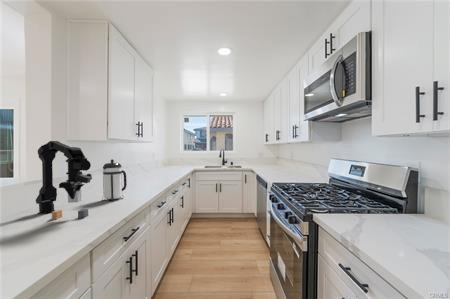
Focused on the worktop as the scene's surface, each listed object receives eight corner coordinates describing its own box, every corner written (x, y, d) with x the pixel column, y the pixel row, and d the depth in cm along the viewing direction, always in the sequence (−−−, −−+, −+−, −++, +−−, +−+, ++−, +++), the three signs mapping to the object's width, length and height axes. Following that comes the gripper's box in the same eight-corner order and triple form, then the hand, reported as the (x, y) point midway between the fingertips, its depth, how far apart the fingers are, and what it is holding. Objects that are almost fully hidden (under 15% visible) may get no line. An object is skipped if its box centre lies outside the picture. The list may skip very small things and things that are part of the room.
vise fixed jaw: (78, 218, 129) (77, 211, 129) (82, 215, 134) (82, 208, 134) (83, 218, 130) (83, 211, 130) (88, 215, 135) (88, 208, 135)
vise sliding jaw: (51, 219, 128) (51, 212, 128) (57, 216, 133) (57, 209, 133) (56, 219, 128) (56, 212, 128) (62, 216, 133) (62, 209, 133)
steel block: (68, 202, 129) (67, 191, 129) (72, 201, 133) (71, 190, 133) (77, 202, 130) (77, 191, 130) (81, 200, 134) (81, 190, 134)
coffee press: (124, 200, 172) (123, 159, 171) (99, 202, 167) (98, 160, 167) (126, 196, 188) (126, 158, 188) (104, 197, 184) (103, 159, 184)
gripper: (80, 171, 123) (81, 201, 123) (96, 168, 141) (97, 194, 142) (57, 172, 122) (58, 202, 122) (77, 168, 140) (77, 195, 141)
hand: (74, 198), depth 132 cm, fingers closed on steel block, 4 cm apart
